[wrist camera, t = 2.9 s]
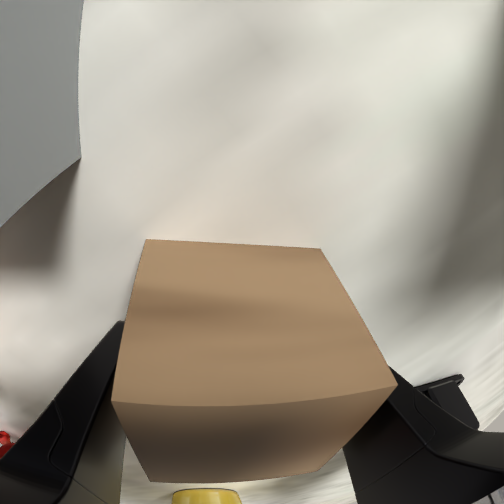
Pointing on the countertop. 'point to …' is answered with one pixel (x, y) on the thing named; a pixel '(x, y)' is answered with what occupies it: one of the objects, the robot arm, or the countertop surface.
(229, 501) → the plant pot
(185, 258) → the walnut block
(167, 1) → the countertop surface
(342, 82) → the countertop surface
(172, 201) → the countertop surface
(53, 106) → the slate pedestal
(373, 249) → the countertop surface
